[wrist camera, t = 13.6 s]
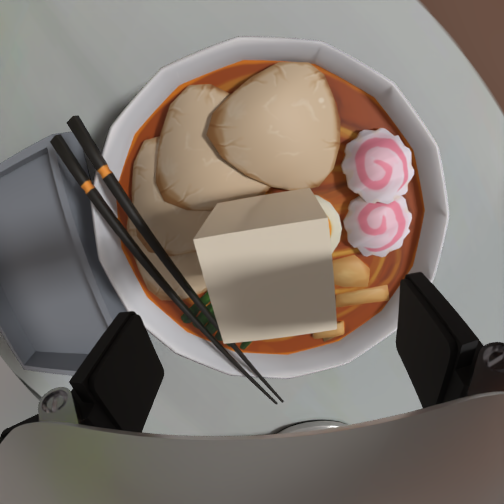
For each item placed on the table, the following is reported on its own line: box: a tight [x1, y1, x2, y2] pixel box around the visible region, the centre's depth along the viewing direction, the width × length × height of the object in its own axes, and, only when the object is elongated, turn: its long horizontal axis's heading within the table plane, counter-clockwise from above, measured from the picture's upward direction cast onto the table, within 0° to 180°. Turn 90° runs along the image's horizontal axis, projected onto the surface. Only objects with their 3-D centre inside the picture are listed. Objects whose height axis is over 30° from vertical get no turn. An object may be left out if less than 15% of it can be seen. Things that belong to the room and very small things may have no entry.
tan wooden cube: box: [193, 188, 337, 344], centre depth 15 cm, size 5×5×6 cm
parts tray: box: [0, 132, 127, 376], centre depth 26 cm, size 20×24×4 cm
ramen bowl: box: [50, 36, 450, 404], centre depth 20 cm, size 25×23×8 cm
